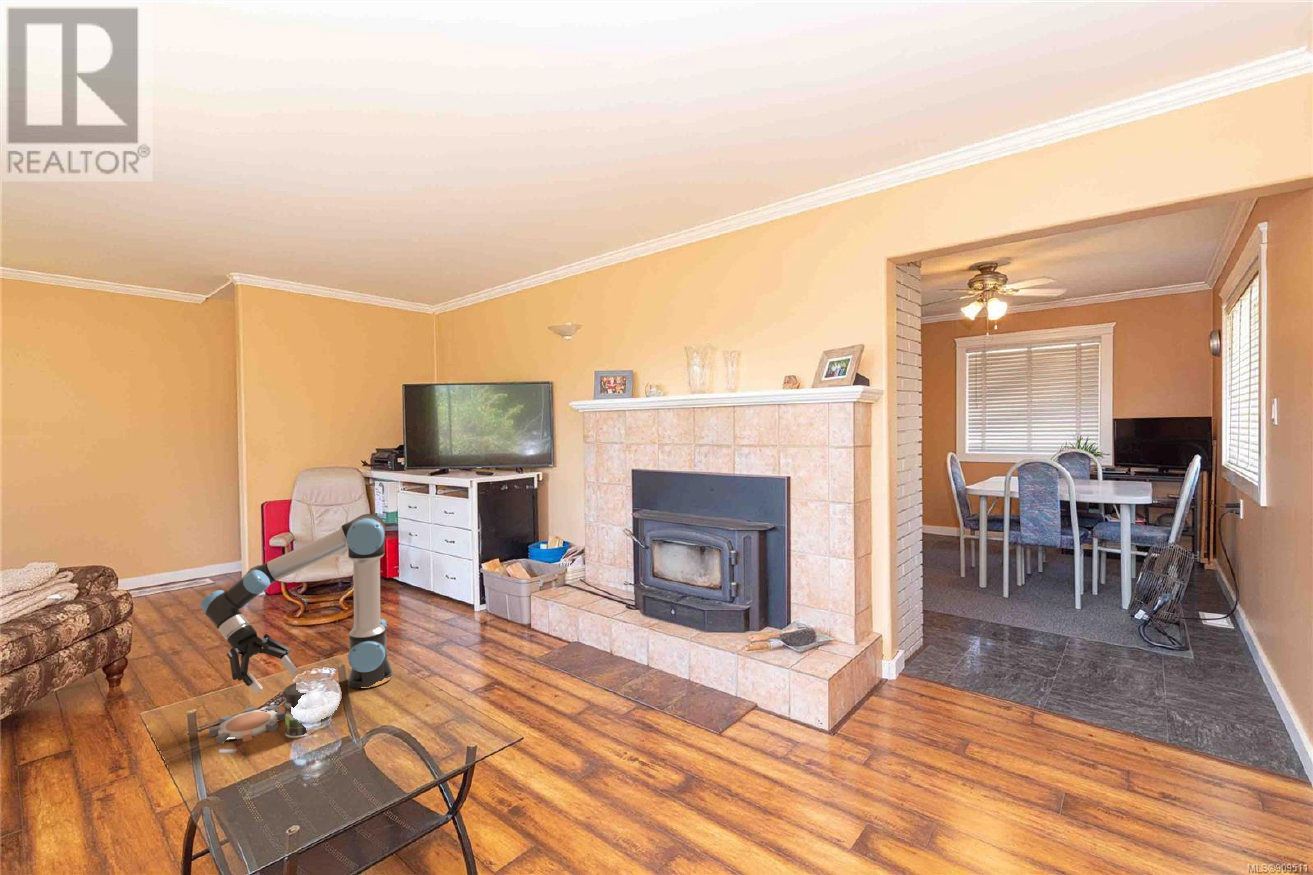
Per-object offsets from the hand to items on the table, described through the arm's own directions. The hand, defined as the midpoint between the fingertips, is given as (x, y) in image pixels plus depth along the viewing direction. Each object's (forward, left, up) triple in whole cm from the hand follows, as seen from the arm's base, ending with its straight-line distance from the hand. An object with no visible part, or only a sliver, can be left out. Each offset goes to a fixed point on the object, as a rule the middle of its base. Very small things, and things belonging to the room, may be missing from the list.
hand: (277, 681), depth 192 cm
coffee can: (+6, +7, -15) cm, 18 cm away
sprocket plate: (-6, -8, -15) cm, 18 cm away
